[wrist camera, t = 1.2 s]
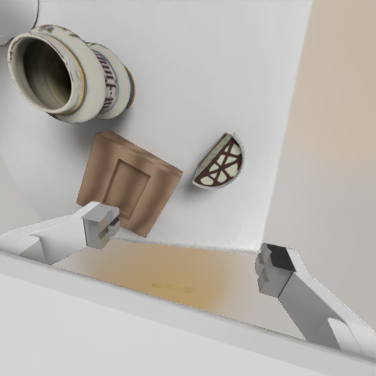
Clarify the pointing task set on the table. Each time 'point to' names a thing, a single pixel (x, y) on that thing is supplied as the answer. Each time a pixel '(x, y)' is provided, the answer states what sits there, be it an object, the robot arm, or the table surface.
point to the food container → (221, 163)
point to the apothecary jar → (69, 75)
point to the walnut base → (127, 181)
